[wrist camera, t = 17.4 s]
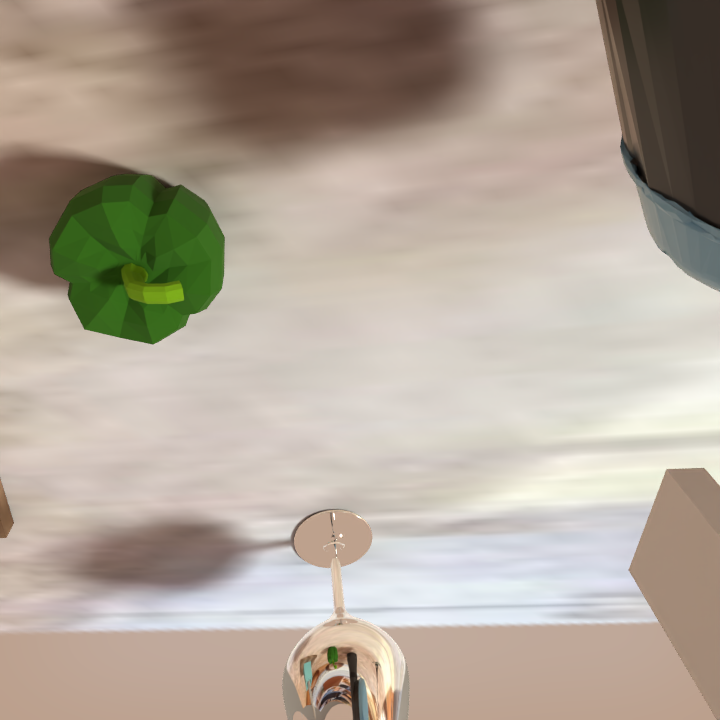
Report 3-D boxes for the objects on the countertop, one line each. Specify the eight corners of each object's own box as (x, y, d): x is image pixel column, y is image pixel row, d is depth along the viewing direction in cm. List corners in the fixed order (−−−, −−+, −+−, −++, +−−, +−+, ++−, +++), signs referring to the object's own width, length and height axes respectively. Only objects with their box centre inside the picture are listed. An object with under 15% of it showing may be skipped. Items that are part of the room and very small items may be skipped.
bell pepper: (73, 268, 38) (12, 350, 30) (97, 134, 35) (36, 183, 26) (211, 307, 41) (192, 394, 32) (247, 185, 37) (237, 246, 28)
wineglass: (267, 559, 52) (260, 800, 37) (306, 488, 49) (317, 721, 34) (356, 581, 55) (385, 815, 39) (400, 515, 51) (450, 743, 36)
